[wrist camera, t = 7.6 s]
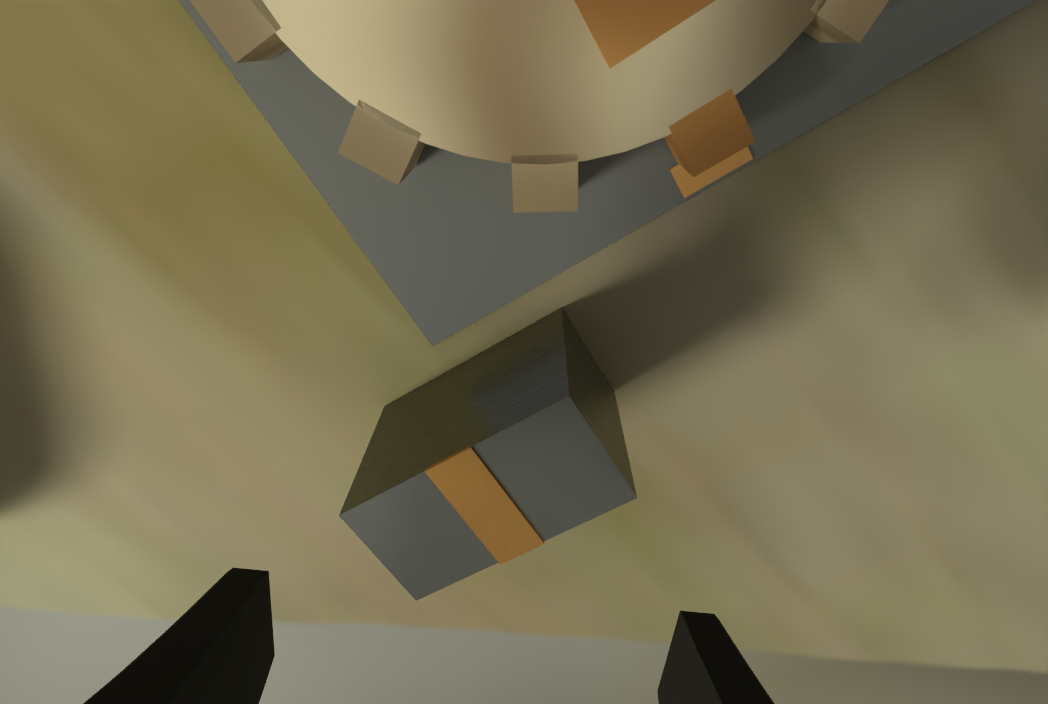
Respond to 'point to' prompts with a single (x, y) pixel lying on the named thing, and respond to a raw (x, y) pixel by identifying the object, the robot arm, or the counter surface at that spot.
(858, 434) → the counter surface
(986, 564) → the counter surface
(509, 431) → the banded gift box
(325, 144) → the index plate
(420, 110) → the sprocket
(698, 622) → the robot arm
